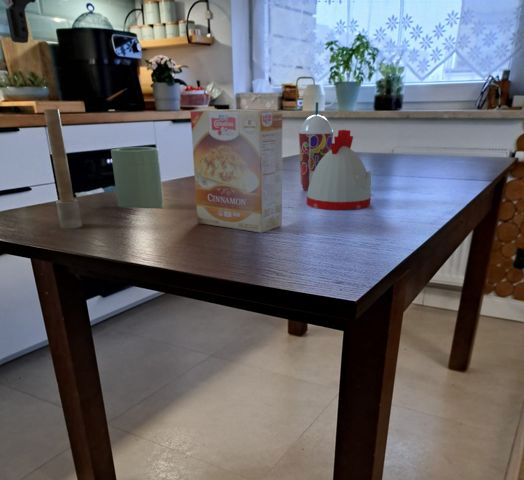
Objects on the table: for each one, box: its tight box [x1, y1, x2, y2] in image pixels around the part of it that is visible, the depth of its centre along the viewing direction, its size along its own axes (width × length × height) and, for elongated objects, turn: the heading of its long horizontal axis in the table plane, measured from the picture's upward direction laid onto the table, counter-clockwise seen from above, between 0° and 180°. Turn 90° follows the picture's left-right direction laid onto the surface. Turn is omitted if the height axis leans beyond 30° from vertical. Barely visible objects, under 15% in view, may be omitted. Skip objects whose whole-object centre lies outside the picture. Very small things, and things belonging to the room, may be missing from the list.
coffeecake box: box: [189, 109, 283, 234], centre depth 92 cm, size 15×7×20 cm, turn 56°
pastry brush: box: [43, 108, 83, 230], centre depth 85 cm, size 4×4×20 cm
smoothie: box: [298, 102, 334, 192], centre depth 127 cm, size 8×8×20 cm
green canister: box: [110, 146, 164, 210], centre depth 109 cm, size 9×9×12 cm
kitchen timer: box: [306, 129, 372, 211], centre depth 111 cm, size 14×14×15 cm
